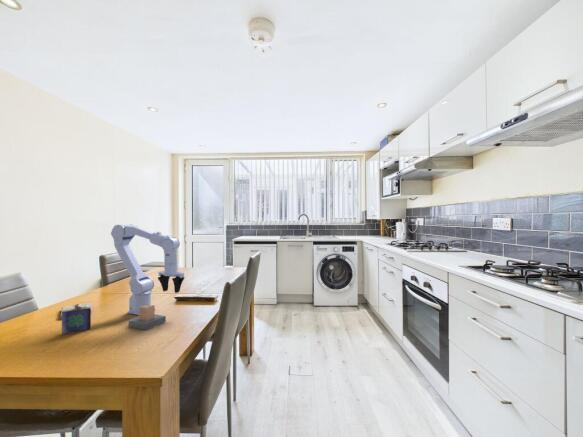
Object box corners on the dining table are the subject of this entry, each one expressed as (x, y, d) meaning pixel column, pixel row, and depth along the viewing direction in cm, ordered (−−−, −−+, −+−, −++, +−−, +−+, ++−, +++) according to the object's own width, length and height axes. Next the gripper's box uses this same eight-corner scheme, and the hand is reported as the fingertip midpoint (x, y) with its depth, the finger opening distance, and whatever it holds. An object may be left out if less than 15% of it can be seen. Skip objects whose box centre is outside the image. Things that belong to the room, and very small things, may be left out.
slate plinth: (128, 326, 116) (128, 319, 116) (149, 318, 125) (149, 312, 125) (145, 330, 112) (145, 323, 112) (165, 321, 121) (165, 315, 121)
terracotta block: (139, 318, 117) (139, 307, 117) (147, 315, 121) (148, 304, 121) (146, 320, 116) (146, 308, 116) (154, 317, 119) (154, 305, 119)
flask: (60, 335, 107) (61, 307, 107) (62, 332, 109) (62, 305, 110) (90, 330, 112) (90, 303, 112) (91, 328, 114) (91, 301, 114)
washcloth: (60, 321, 123) (60, 314, 123) (60, 311, 137) (60, 305, 137) (93, 315, 130) (93, 309, 131) (90, 306, 144) (90, 300, 144)
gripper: (153, 263, 131) (153, 292, 131) (175, 265, 126) (176, 295, 125) (165, 261, 138) (165, 288, 138) (187, 262, 132) (187, 291, 132)
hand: (171, 291), depth 132 cm, fingers open, 7 cm apart
